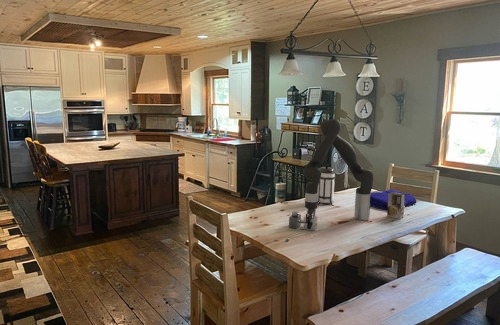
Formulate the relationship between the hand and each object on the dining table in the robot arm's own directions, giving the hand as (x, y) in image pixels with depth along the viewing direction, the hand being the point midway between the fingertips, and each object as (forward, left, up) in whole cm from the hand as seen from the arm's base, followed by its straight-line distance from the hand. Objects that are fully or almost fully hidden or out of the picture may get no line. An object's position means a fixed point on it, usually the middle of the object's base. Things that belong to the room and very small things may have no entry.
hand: (310, 227), depth 226 cm
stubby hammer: (+6, 0, -1) cm, 6 cm away
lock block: (0, 0, -1) cm, 1 cm away
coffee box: (-45, -50, -1) cm, 67 cm away
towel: (-38, -83, -2) cm, 91 cm away
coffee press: (+5, -61, -1) cm, 61 cm away
